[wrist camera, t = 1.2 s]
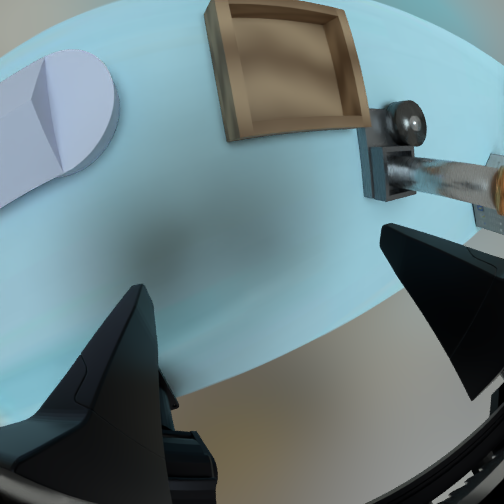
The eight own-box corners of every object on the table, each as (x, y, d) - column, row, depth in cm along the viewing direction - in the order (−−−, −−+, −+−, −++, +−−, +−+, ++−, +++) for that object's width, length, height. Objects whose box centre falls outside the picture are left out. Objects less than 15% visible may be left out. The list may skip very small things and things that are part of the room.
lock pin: (400, 186, 26) (515, 213, 13) (377, 191, 25) (504, 222, 12) (397, 151, 24) (516, 166, 12) (374, 153, 23) (506, 168, 11)
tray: (348, 129, 23) (371, 126, 20) (227, 142, 20) (240, 137, 17) (324, 21, 19) (343, 10, 16) (203, 14, 15) (213, -6, 12)
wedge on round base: (-3, 215, 14) (131, 150, 17) (-47, 235, 8) (121, 141, 11) (-21, 118, 11) (110, 49, 14) (-64, 110, 5) (98, 7, 8)
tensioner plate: (410, 186, 28) (433, 191, 25) (364, 197, 26) (389, 203, 23) (402, 104, 25) (425, 102, 21) (352, 100, 22) (377, 94, 19)
